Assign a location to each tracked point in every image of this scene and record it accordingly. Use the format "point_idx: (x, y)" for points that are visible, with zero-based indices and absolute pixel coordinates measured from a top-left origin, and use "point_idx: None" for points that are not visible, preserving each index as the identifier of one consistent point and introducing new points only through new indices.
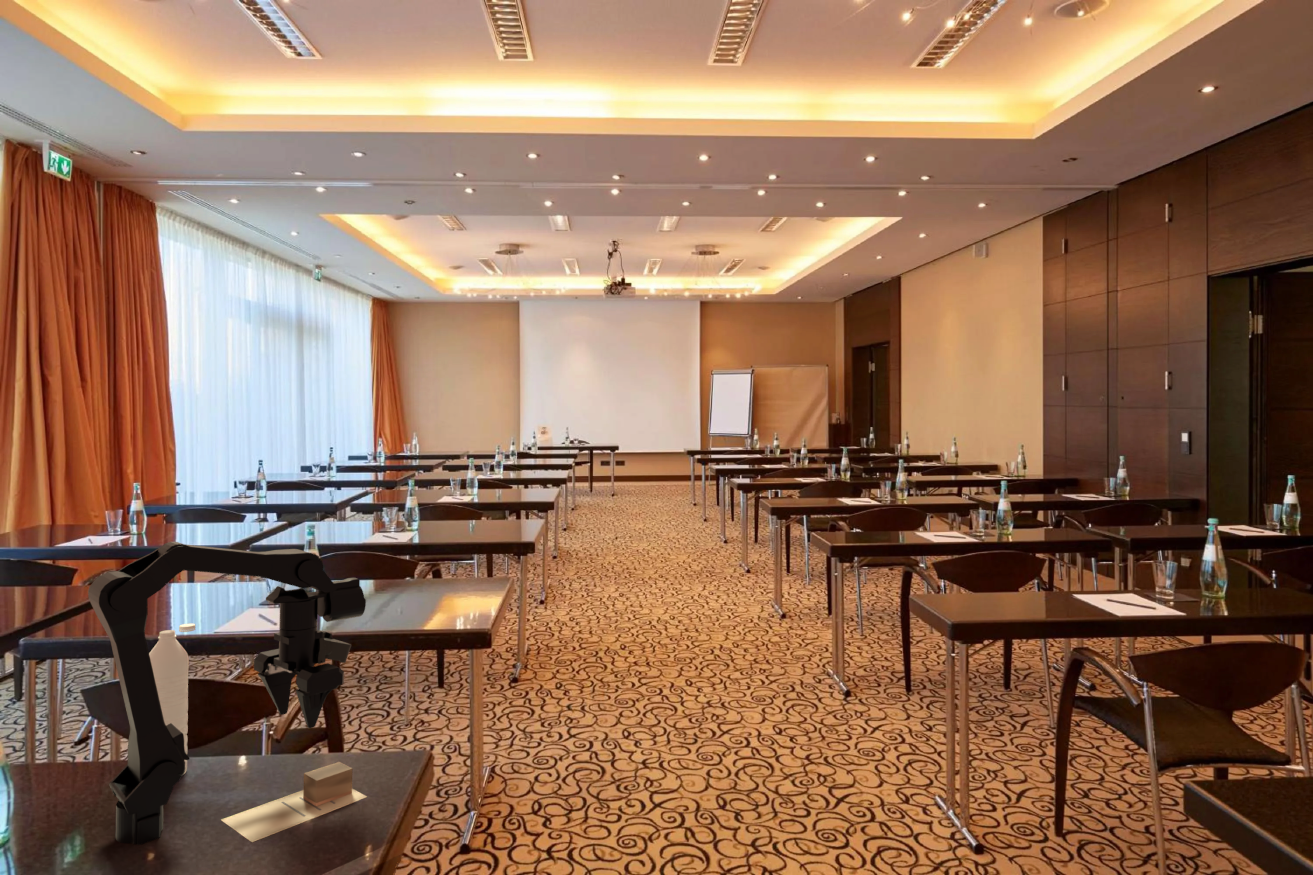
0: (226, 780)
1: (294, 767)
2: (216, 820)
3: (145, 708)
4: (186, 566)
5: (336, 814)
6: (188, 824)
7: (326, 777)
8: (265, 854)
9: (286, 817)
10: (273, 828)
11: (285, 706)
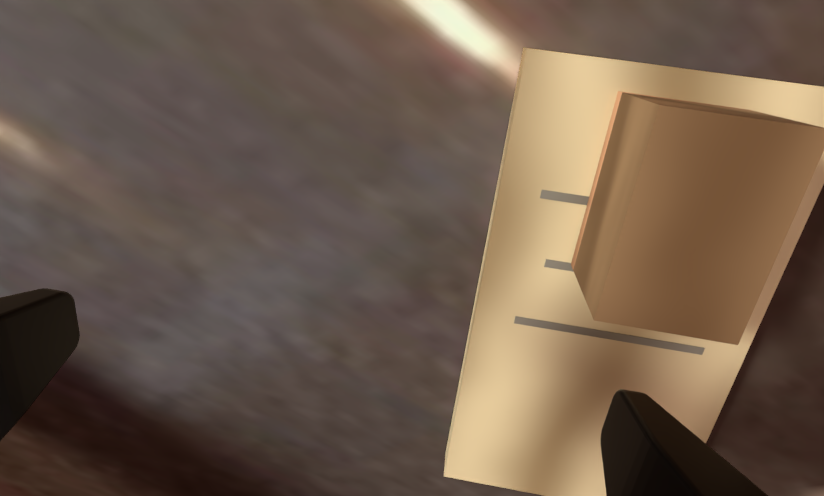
0: (100, 246)
1: (165, 9)
2: (377, 424)
3: None
4: None
5: None
6: (334, 466)
7: (759, 295)
8: None
9: (640, 384)
10: None
11: (12, 344)
